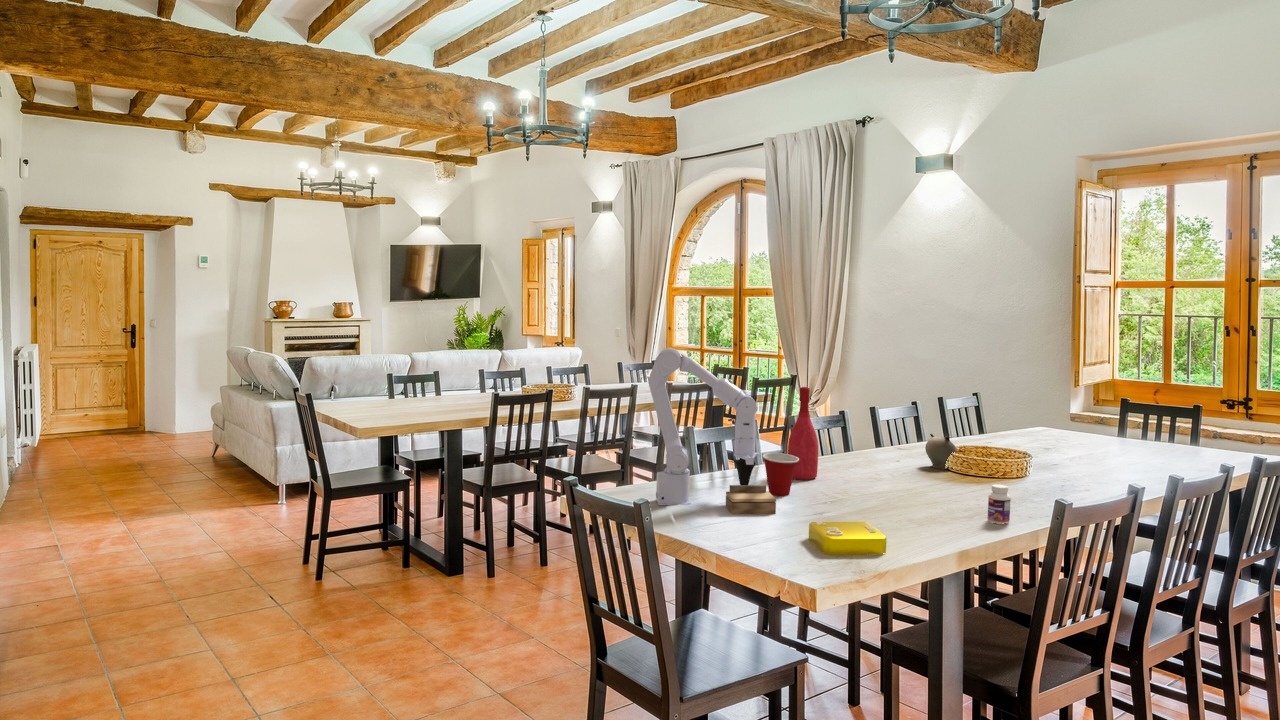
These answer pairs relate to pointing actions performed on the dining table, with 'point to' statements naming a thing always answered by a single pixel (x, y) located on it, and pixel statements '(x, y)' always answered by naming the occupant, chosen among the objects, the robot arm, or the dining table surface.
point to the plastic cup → (779, 472)
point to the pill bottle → (999, 504)
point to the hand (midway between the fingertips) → (744, 485)
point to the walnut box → (750, 507)
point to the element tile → (847, 538)
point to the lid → (749, 493)
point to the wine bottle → (804, 441)
